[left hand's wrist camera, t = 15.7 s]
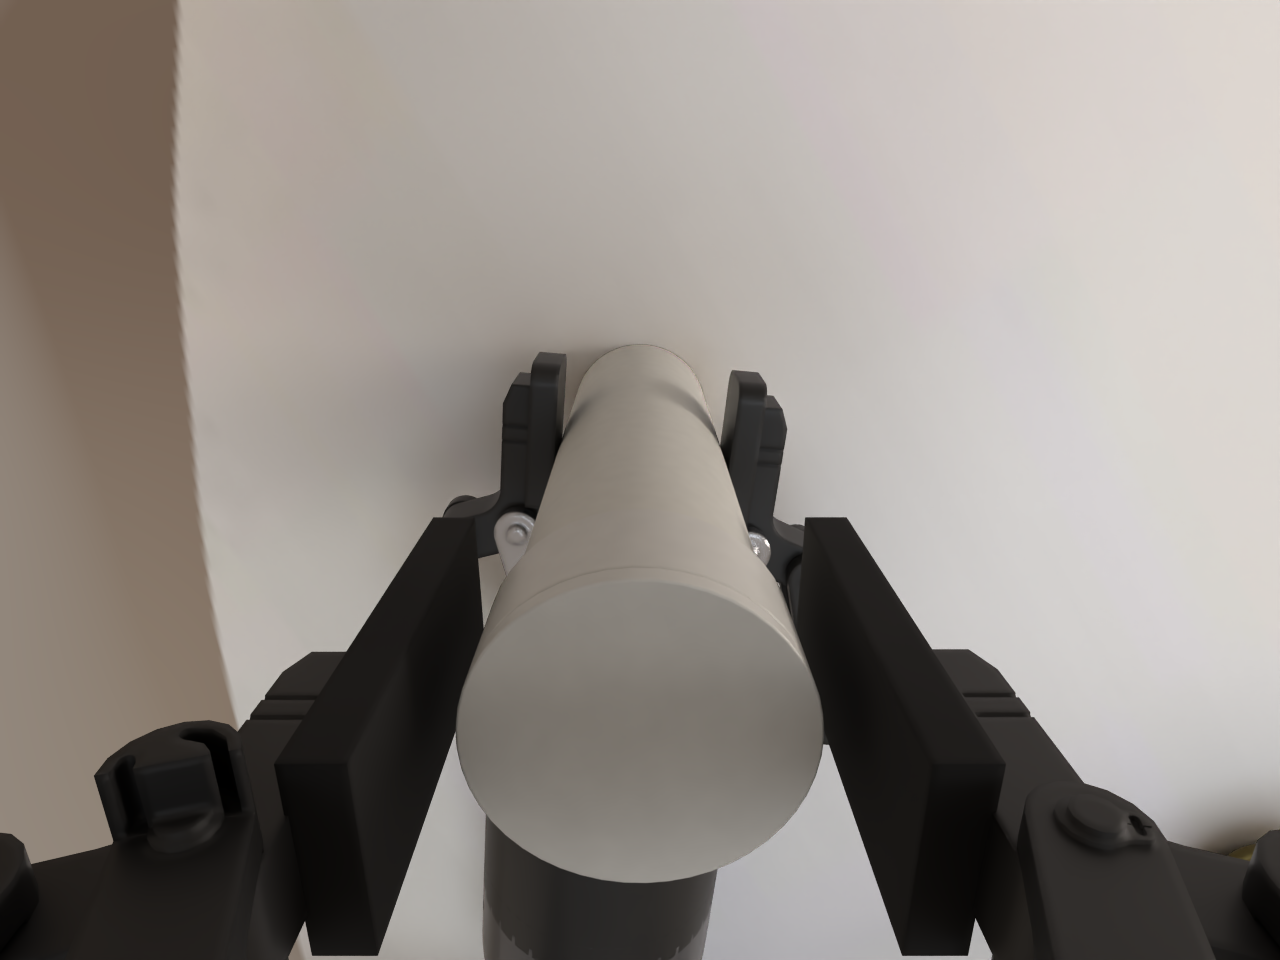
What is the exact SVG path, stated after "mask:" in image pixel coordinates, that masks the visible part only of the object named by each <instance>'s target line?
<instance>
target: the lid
mask: <svg viewBox="0 0 1280 960" xmlns="http://www.w3.org/2000/svg"><path fill="white" fill-rule="evenodd" d="M455 729H456V744H457V751H458V756H459V760H460V764H461V768H462V771H463V774H464V776H465V779H466V781H467V784H468V786H469V788H470V790H471V792H472V794H473V795H474V797H475V799H476V801H477V802H478V804H479V806H480V807H481V808H482V809H483V811H484V812H485V813H486V815H487V816H488V817H489V819H490V820H491V821H492V822H493V823H494V824H495V825H496V826H497V827H498V828H499V829H500V830H501V831H502V832H503V833H504V834H505V835H506V836H507V837H509V838H510V839H511V840H513V841H514V842H515V843H516V844H518V845H519V846H520V847H522V848H523V849H525V850H526V851H528V852H530V853H531V854H533V855H535V856H536V857H538V858H540V859H541V860H544V861H546V862H548V863H550V864H552V865H554V866H557V867H559V868H561V869H564V870H567V871H570V872H573V873H576V874H579V875H583V876H587V877H592V878H596V879H601V880H607V881H616V882H624V883H653V882H665V881H673V880H678V879H684V878H689V877H693V876H696V875H700V874H703V873H707V872H710V871H713V870H715V869H718V868H720V867H723V866H725V865H728V864H730V863H732V862H734V861H736V860H738V859H740V858H741V857H743V856H745V855H747V854H749V853H751V852H752V851H753V850H755V849H756V848H758V847H759V846H761V845H762V844H763V843H765V842H766V841H768V840H769V839H770V838H771V837H772V836H773V835H774V834H775V833H777V832H778V831H779V830H780V829H781V828H782V827H783V826H784V825H785V824H786V823H787V821H788V820H789V819H790V818H791V817H792V816H793V814H794V813H795V812H796V811H797V809H798V808H799V806H800V805H801V803H802V802H803V800H804V799H805V797H806V795H807V794H808V791H809V789H810V787H811V785H812V783H813V781H814V779H815V776H816V773H817V770H818V766H819V763H820V759H821V756H822V748H823V741H824V716H823V711H822V705H821V700H820V695H819V693H818V690H817V687H816V684H815V682H814V679H813V676H812V673H811V670H810V668H809V665H808V662H807V659H806V657H805V654H804V651H803V648H802V646H801V643H800V640H799V637H798V634H797V632H796V629H795V626H794V623H793V621H792V618H791V615H790V612H789V610H788V607H787V604H786V601H785V599H784V596H783V593H782V591H781V590H780V588H779V586H778V584H777V582H776V580H775V578H774V577H773V575H772V574H771V573H770V571H769V570H768V569H767V567H766V566H765V565H764V563H763V562H762V561H761V560H760V559H759V558H758V557H757V556H756V555H755V554H754V553H753V552H752V551H751V550H750V549H749V548H748V547H747V546H745V545H744V544H743V543H741V542H740V541H739V540H738V539H736V538H735V537H734V536H732V535H730V534H728V533H727V532H725V531H723V530H722V529H720V528H718V527H716V526H714V525H712V524H709V523H707V522H705V521H702V520H700V519H697V518H694V517H691V516H687V515H683V514H680V513H676V512H669V511H663V510H656V509H627V510H616V511H610V512H605V513H601V514H596V515H592V516H589V517H586V518H583V519H580V520H578V521H575V522H572V523H570V524H568V525H566V526H564V527H562V528H560V529H558V530H556V531H554V532H553V533H551V534H550V535H548V536H547V537H545V538H544V539H542V540H541V541H539V542H538V543H537V544H535V545H534V546H533V547H532V548H531V549H530V550H529V551H528V552H527V553H525V554H524V555H523V556H522V557H521V559H520V560H519V561H518V562H517V563H516V565H515V566H514V567H513V568H512V569H511V570H510V572H509V574H508V575H507V577H506V578H505V580H504V582H503V583H502V585H501V586H500V589H499V591H498V593H497V596H496V598H495V600H494V603H493V605H492V608H491V611H490V614H489V616H488V619H487V622H486V625H485V627H484V630H483V633H482V636H481V638H480V641H479V644H478V647H477V649H476V652H475V655H474V658H473V660H472V663H471V666H470V669H469V671H468V674H467V677H466V680H465V682H464V685H463V688H462V692H461V696H460V699H459V703H458V707H457V717H456V727H455Z"/></svg>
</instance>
